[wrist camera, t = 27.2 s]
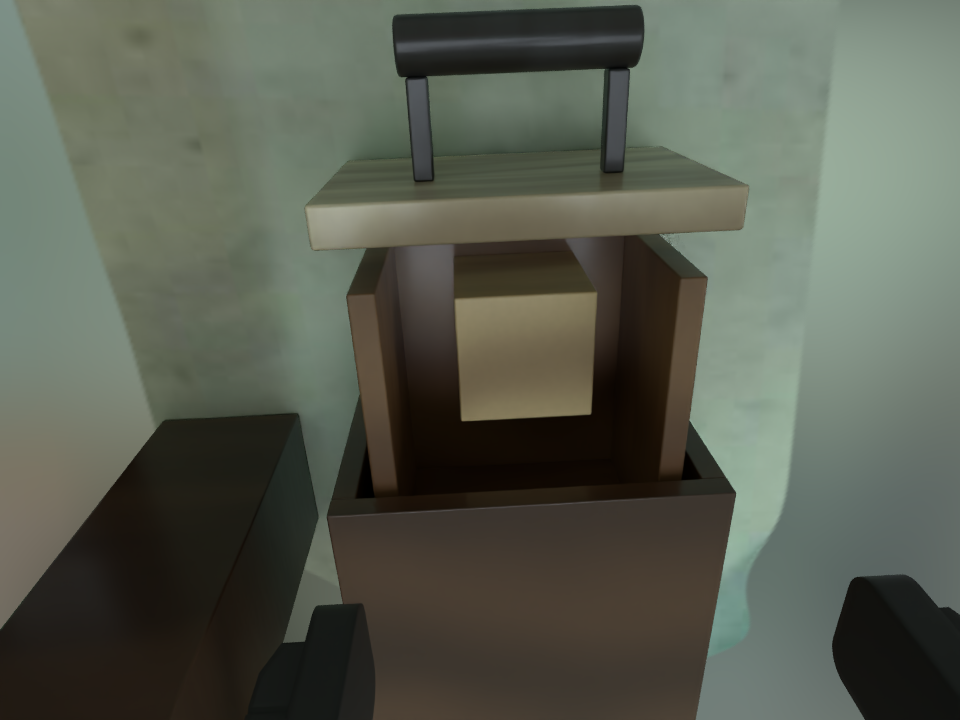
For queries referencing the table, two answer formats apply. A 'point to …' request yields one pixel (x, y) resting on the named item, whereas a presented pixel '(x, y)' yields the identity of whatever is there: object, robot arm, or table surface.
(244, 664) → the post
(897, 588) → the robot arm
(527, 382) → the block
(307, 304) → the table surface
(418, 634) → the cabinet
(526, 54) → the drawer
